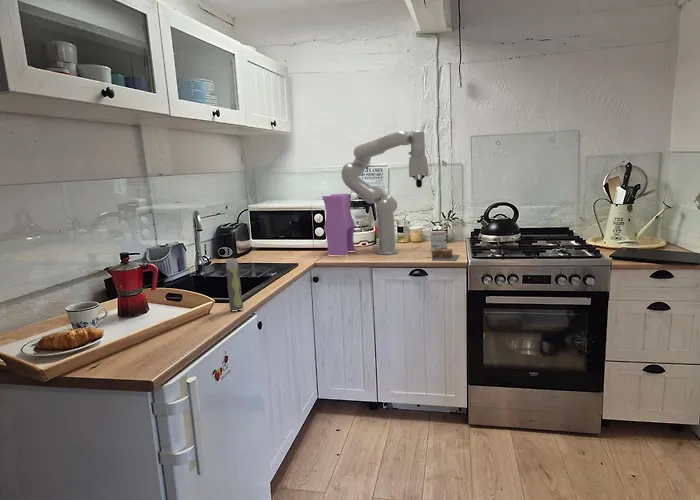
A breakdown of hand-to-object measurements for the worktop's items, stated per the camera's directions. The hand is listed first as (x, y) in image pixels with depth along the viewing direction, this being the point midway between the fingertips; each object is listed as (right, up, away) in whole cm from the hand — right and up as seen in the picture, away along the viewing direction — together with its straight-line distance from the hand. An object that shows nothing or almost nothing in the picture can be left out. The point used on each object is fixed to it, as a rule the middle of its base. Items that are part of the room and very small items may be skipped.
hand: (419, 187), depth 265 cm
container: (-44, -37, +18) cm, 60 cm away
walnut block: (+6, -37, -10) cm, 38 cm away
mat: (+13, -39, -12) cm, 43 cm away
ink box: (+12, -36, +8) cm, 39 cm away
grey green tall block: (-81, -58, -86) cm, 131 cm away
